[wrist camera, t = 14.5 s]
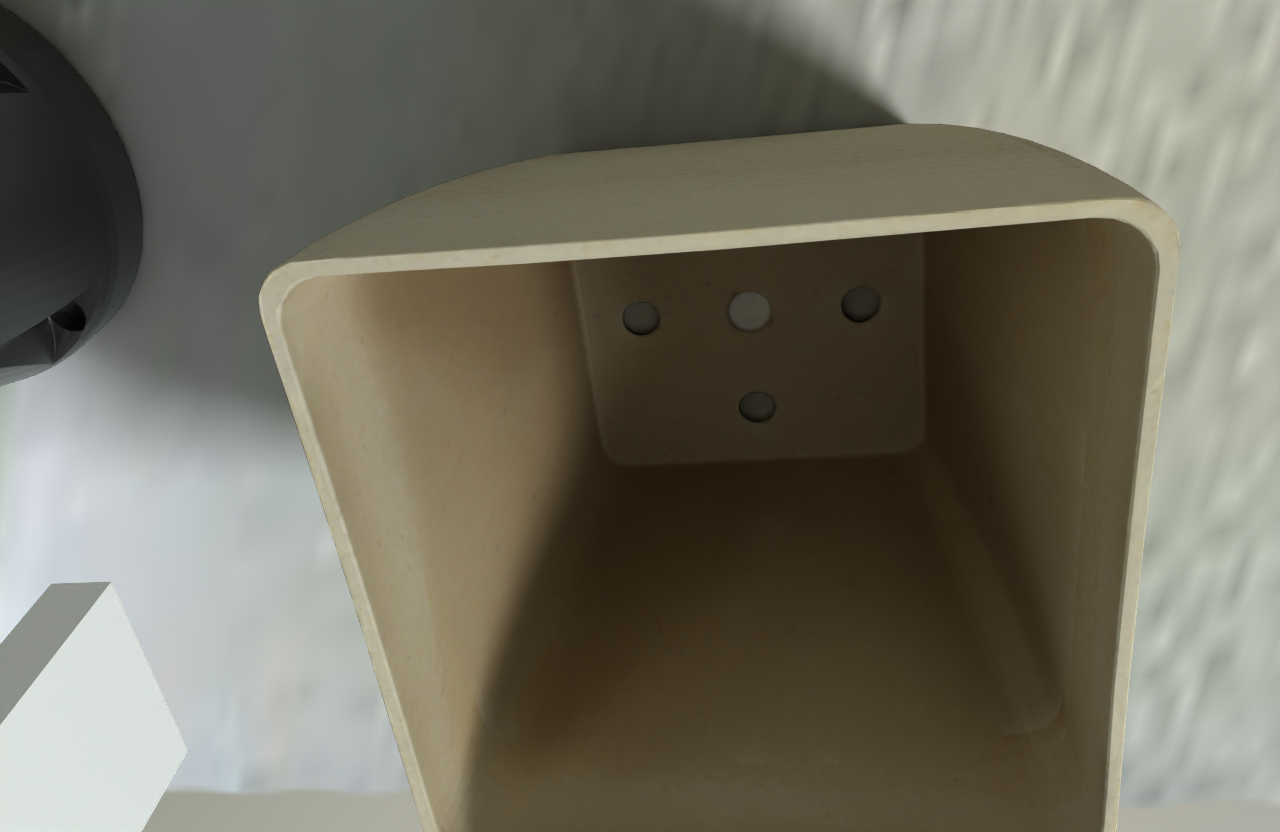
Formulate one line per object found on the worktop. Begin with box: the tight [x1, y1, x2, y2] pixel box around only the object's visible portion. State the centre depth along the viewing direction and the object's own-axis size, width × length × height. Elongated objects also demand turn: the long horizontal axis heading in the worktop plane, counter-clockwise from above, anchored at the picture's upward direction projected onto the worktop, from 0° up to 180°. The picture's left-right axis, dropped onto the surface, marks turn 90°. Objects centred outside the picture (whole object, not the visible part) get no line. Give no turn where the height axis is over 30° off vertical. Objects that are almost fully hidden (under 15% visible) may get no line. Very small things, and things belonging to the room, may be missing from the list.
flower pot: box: [258, 124, 1180, 832], centre depth 35 cm, size 19×19×17 cm
